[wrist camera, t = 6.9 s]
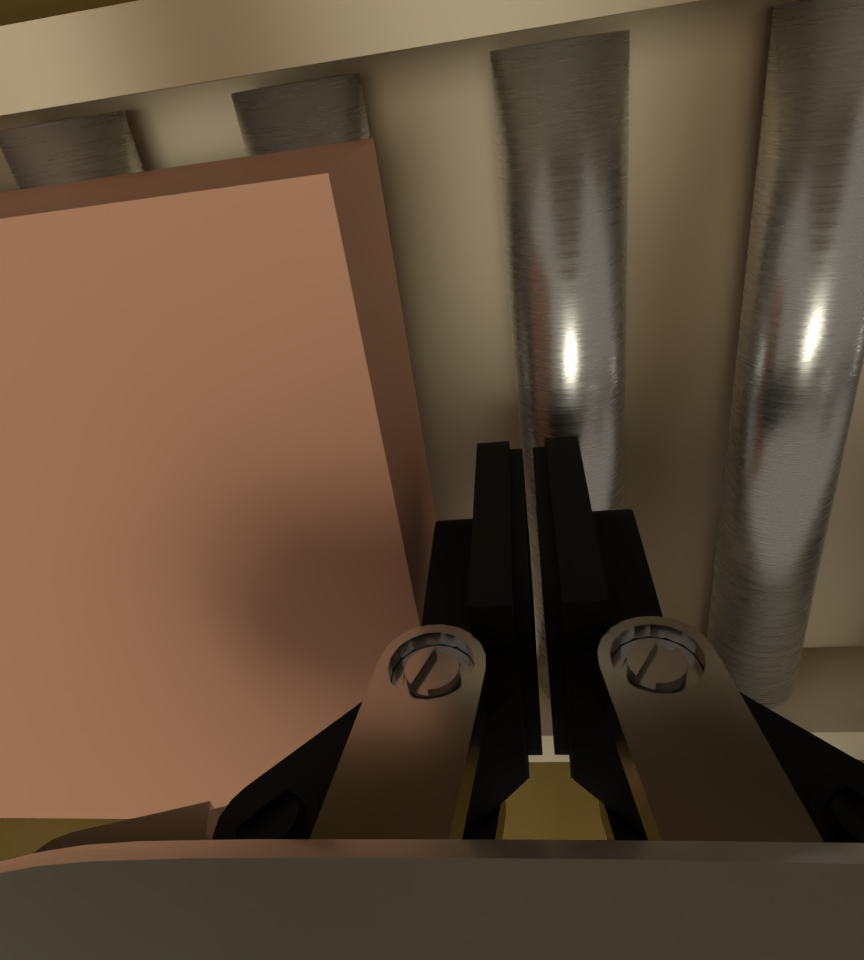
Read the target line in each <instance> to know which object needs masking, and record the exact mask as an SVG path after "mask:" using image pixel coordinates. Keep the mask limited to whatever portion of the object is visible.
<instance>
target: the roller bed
mask: <svg viewBox="0 0 864 960" xmlns="http://www.w3.org/2000/svg"><path fill="white" fill-rule="evenodd" d="M796 1H802V0H139V1H133V2H128V3H123V4H117V5H112V6H106V7H101V8H96V9H90V10H85V11H80V12H74V13H69V14H64V15H58V16H53V17H47V18H42V19H37V20H31V21H26V22H21V23H15V24H10V25H4V26H0V131H1V130H6V129H12V128H17V127H23V126H28V125H34V124H40V123H46V122H52V121H58V120H63V119H69V118H75V117H82V116H88V115H94V114H100V113H107V112H113V111H120V110H124V112H125V115H126V118H127V121H128V124H129V127H130V130H131V133H132V136H133V139H134V142H135V145H136V148H137V151H138V154H139V157H140V160H141V163H142V166H143V169H144V171H150V170H157V169H164V168H171V167H178V166H185V165H192V164H198V163H205V162H212V161H219V160H226V159H233V158H240V157H246V156H247V155H246V151H245V147H244V143H243V139H242V135H241V132H240V128H239V124H238V120H237V116H236V112H235V108H234V104H233V101H232V97H231V93H236V92H241V91H246V90H252V89H257V88H263V87H269V86H275V85H281V84H287V83H293V82H299V81H305V80H311V79H317V78H324V77H330V76H336V75H343V74H350V73H358V72H359V73H360V79H361V85H362V91H363V97H364V103H365V109H366V115H367V121H368V127H369V133H370V138H374V144H375V150H376V156H377V162H378V169H379V175H380V181H381V187H382V193H383V199H384V205H385V211H386V217H387V223H388V229H389V235H390V241H391V247H392V253H393V259H394V265H395V271H396V277H397V283H398V289H399V295H400V301H401V307H402V313H403V320H404V326H405V332H406V338H407V344H408V350H409V356H410V362H411V368H412V374H413V380H414V386H415V392H416V398H417V404H418V410H419V416H420V422H421V428H422V434H423V440H424V446H425V452H426V458H427V464H428V471H429V477H430V483H431V489H432V495H433V501H434V507H435V513H436V519H437V521H441V520H458V519H473V503H474V485H475V468H476V450H477V443H488V442H501V441H509V445H510V449H520V448H521V439H520V427H519V414H518V401H517V389H516V376H515V363H514V351H513V338H512V325H511V313H510V300H509V287H508V275H507V262H506V249H505V237H504V224H503V211H502V199H501V186H500V173H499V161H498V148H497V136H496V123H495V110H494V98H493V85H492V72H491V60H490V51H495V50H500V49H505V48H511V47H517V46H523V45H529V44H535V43H541V42H547V41H553V40H559V39H565V38H572V37H578V36H585V35H591V34H598V33H605V32H611V31H619V30H626V29H630V68H629V142H628V215H627V289H626V362H625V436H624V509H631V510H633V513H634V516H635V519H636V523H637V526H638V530H639V533H640V537H641V540H642V544H643V548H644V551H645V555H646V558H647V562H648V565H649V569H650V573H651V576H652V580H653V583H654V587H655V590H656V594H657V598H658V601H659V605H660V608H661V612H662V615H663V617H664V618H670V619H675V620H677V621H680V622H682V623H684V624H687V625H689V626H691V627H693V628H694V629H696V630H697V631H698V632H700V633H701V634H703V635H704V636H705V637H706V638H707V632H708V623H709V613H710V604H711V595H712V585H713V576H714V566H715V557H716V547H717V538H718V528H719V519H720V509H721V500H722V491H723V481H724V472H725V462H726V453H727V443H728V434H729V424H730V415H731V405H732V396H733V387H734V377H735V368H736V358H737V349H738V339H739V330H740V320H741V311H742V301H743V292H744V283H745V273H746V264H747V254H748V245H749V235H750V226H751V216H752V207H753V197H754V188H755V179H756V169H757V160H758V150H759V141H760V131H761V122H762V112H763V103H764V93H765V84H766V75H767V65H768V56H769V46H770V37H771V27H772V18H773V8H774V5H779V4H784V3H790V2H796ZM13 190H19V189H18V187H17V185H16V182H15V180H14V178H13V175H12V173H11V171H10V168H9V166H8V164H7V161H6V159H5V157H4V154H3V152H2V150H1V148H0V192H7V191H13ZM535 633H536V629H535ZM536 650H537V642H536ZM537 667H538V654H537ZM538 684H539V700H540V717H541V734H542V752H543V755H529V762H570V760H569V755H555V753H554V740H553V727H552V714H551V701H550V700H549V699H548V698H547V697H546V695H545V694H544V692H543V691H542V688H541V685H540V680H539V667H538ZM769 709H770V710H772V711H774V712H775V713H777V714H779V715H781V716H782V717H784V718H786V719H788V720H789V721H791V722H793V723H795V724H796V725H798V726H800V727H801V728H803V729H805V730H807V731H808V732H810V733H812V734H814V735H815V736H817V737H819V738H821V739H822V740H824V741H826V742H827V743H829V744H831V745H833V746H834V747H836V748H838V749H840V750H841V751H843V752H845V753H847V754H848V755H850V756H852V757H853V758H855V759H857V760H864V360H863V364H862V369H861V374H860V379H859V383H858V388H857V393H856V397H855V402H854V407H853V412H852V416H851V421H850V426H849V431H848V435H847V440H846V445H845V449H844V454H843V459H842V464H841V468H840V473H839V478H838V483H837V487H836V492H835V497H834V501H833V506H832V511H831V516H830V520H829V525H828V530H827V535H826V539H825V544H824V549H823V553H822V558H821V563H820V568H819V572H818V577H817V582H816V587H815V591H814V596H813V601H812V605H811V610H810V615H809V620H808V624H807V629H806V634H805V639H804V643H803V648H802V653H801V657H800V662H799V667H798V672H797V676H796V681H795V686H794V691H793V693H792V695H791V696H790V698H789V699H788V700H787V701H786V702H784V703H783V704H781V705H779V706H776V707H773V708H769Z"/></svg>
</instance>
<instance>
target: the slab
mask: <svg viewBox="0 0 864 960" xmlns="http://www.w3.org/2000/svg"><path fill="white" fill-rule="evenodd" d="M436 522H437V519H436V513H435V507H434V501H433V495H432V489H431V483H430V477H429V471H428V464H427V458H426V452H425V446H424V440H423V434H422V428H421V422H420V416H419V410H418V404H417V398H416V392H415V386H414V380H413V374H412V368H411V362H410V356H409V350H408V344H407V338H406V332H405V326H404V320H403V313H402V307H401V301H400V295H399V289H398V283H397V277H396V271H395V265H394V259H393V253H392V247H391V241H390V235H389V229H388V223H387V217H386V211H385V205H384V199H383V193H382V187H381V181H380V175H379V169H378V162H377V156H376V150H375V144H374V138H370V139H363V140H356V141H349V142H342V143H336V144H329V145H322V146H315V147H308V148H301V149H294V150H288V151H281V152H274V153H267V154H260V155H253V156H246V157H240V158H233V159H226V160H219V161H212V162H205V163H198V164H192V165H185V166H178V167H171V168H164V169H157V170H150V171H144V172H137V173H130V174H123V175H116V176H109V177H103V178H96V179H89V180H82V181H75V182H68V183H61V184H55V185H48V186H41V187H34V188H27V189H20V190H13V191H7V192H0V818H111V819H133V818H137V817H142V816H146V815H150V814H155V813H159V812H164V811H168V810H172V809H177V808H181V807H186V806H190V805H194V804H199V803H203V802H208V801H211V803H212V805H213V807H214V809H215V808H219V807H224V806H227V805H228V804H229V802H230V801H231V800H232V799H233V798H234V797H235V796H236V795H237V794H238V793H239V792H240V791H242V790H243V789H244V788H245V787H246V786H247V785H249V784H250V783H251V782H253V781H254V780H256V779H257V778H258V777H260V776H261V775H262V774H264V773H265V772H266V771H268V770H269V769H271V768H272V767H273V766H275V765H276V764H277V763H279V762H280V761H281V760H283V759H284V758H286V757H287V756H288V755H290V754H291V753H292V752H294V751H295V750H296V749H298V748H299V747H301V746H302V745H303V744H305V743H306V742H307V741H309V740H310V739H311V738H313V737H314V736H316V735H317V734H318V733H320V732H321V731H322V730H324V729H325V728H327V727H328V726H329V725H331V724H332V723H333V722H335V721H336V720H337V719H339V718H340V717H342V716H343V715H344V714H346V713H347V712H348V711H350V710H351V709H352V708H354V707H355V706H357V705H358V704H359V703H361V702H362V701H363V699H364V696H365V694H366V691H367V688H368V686H369V683H370V681H371V678H372V676H373V673H374V670H375V668H376V665H377V663H378V660H379V658H380V656H381V655H382V653H383V651H384V650H385V648H386V647H387V646H388V645H389V644H390V643H391V642H392V641H393V640H394V639H395V638H397V637H398V636H400V635H402V634H404V633H405V632H407V631H409V630H411V629H414V628H418V627H421V624H422V616H423V609H424V602H425V594H426V587H427V579H428V572H429V564H430V557H431V549H432V542H433V534H434V528H435V523H436Z"/></svg>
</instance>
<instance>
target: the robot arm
mask: <svg viewBox="0 0 864 960" xmlns="http://www.w3.org/2000/svg"><path fill="white" fill-rule="evenodd" d="M533 464H534V478H535V493H536V508H537V523H538V538H539V552H540V567H541V582H542V595H543V608H544V622H545V635H546V648H547V661H548V674H549V688H550V701H551V714H552V727H553V740H554V753H555V755H569V760H570V770H571V778H573V779H574V780H575V781H576V782H577V783H579V784H580V785H581V786H582V787H583V788H585V789H586V790H587V791H588V792H590V793H591V794H592V795H593V796H595V797H596V798H597V799H598V800H599V807H600V815H601V819H602V823H603V826H604V829H605V833H606V836H607V840H502V837H503V831H504V824H505V818H506V802H505V800H506V799H507V798H508V797H509V796H510V795H511V794H512V793H513V792H514V791H515V790H516V789H518V788H519V787H520V786H521V785H522V784H523V783H524V782H525V781H526V780H527V779H529V755H543V752H542V734H541V717H540V700H539V684H538V667H537V650H536V633H535V616H534V599H533V583H532V569H531V556H530V543H529V530H528V517H527V504H526V491H525V478H524V465H523V452H522V448H520V449H510V445H509V441H501V442H488V443H477V450H476V468H475V485H474V503H473V519H458V520H441V521H437V522H436V523H435V528H434V534H433V542H432V549H431V557H430V564H429V572H428V579H427V587H426V594H425V602H424V609H423V616H422V624H421V627H418V628H414V629H411V630H409V631H407V632H405V633H404V634H402V635H400V636H398V637H397V638H395V639H394V640H393V641H392V642H391V643H390V644H389V645H388V646H387V647H386V648H385V650H384V651H383V653H382V655H381V656H380V658H379V660H378V663H377V665H376V668H375V670H374V673H373V676H372V678H371V681H370V683H369V686H368V688H367V691H366V694H365V696H364V699H363V701H362V702H361V703H359V704H358V705H357V706H355V707H354V708H352V709H351V710H350V711H348V712H347V713H346V714H344V715H343V716H342V717H340V718H339V719H337V720H336V721H335V722H333V723H332V724H331V725H329V726H328V727H327V728H325V729H324V730H322V731H321V732H320V733H318V734H317V735H316V736H314V737H313V738H311V739H310V740H309V741H307V742H306V743H305V744H303V745H302V746H301V747H299V748H298V749H296V750H295V751H294V752H292V753H291V754H290V755H288V756H287V757H286V758H284V759H283V760H281V761H280V762H279V763H277V764H276V765H275V766H273V767H272V768H271V769H269V770H268V771H266V772H265V773H264V774H262V775H261V776H260V777H258V778H257V779H256V780H254V781H253V782H251V783H250V784H249V785H247V786H246V787H245V788H244V789H243V790H242V791H240V792H239V793H238V794H237V795H236V796H235V797H234V798H233V799H232V800H231V801H230V802H229V804H228V805H227V806H224V807H219V808H215V809H214V807H213V805H212V803H211V801H208V802H203V803H199V804H194V805H190V806H186V807H181V808H177V809H172V810H168V811H164V812H159V813H155V814H150V815H146V816H142V817H137V818H133V819H129V820H124V821H120V822H115V823H111V824H107V825H102V826H98V827H93V828H89V829H85V830H80V831H76V832H71V833H69V834H66V835H64V836H61V837H58V838H56V839H53V840H51V841H50V842H48V843H47V844H45V845H44V846H43V847H41V848H40V849H38V850H37V851H36V852H34V853H33V854H30V855H26V856H22V857H17V858H13V859H9V860H5V861H1V862H0V960H864V763H862V762H860V761H859V760H857V759H855V758H853V757H852V756H850V755H848V754H847V753H845V752H843V751H841V750H840V749H838V748H836V747H834V746H833V745H831V744H829V743H827V742H826V741H824V740H822V739H821V738H819V737H817V736H815V735H814V734H812V733H810V732H808V731H807V730H805V729H803V728H801V727H800V726H798V725H796V724H795V723H793V722H791V721H789V720H788V719H786V718H784V717H782V716H781V715H779V714H777V713H775V712H774V711H772V710H770V709H769V708H767V707H765V706H763V705H762V704H760V703H758V702H756V701H755V700H753V699H751V698H750V697H748V696H746V695H744V694H743V693H741V692H739V690H738V689H737V687H736V685H735V683H734V682H733V680H732V678H731V676H730V674H729V673H728V671H727V669H726V667H725V666H724V664H723V662H722V660H721V659H720V657H719V655H718V653H717V651H716V650H715V648H714V647H713V646H712V644H711V643H710V642H709V641H708V639H707V638H706V637H705V636H704V635H703V634H701V633H700V632H698V631H697V630H696V629H694V628H693V627H691V626H689V625H687V624H684V623H682V622H680V621H677V620H675V619H670V618H664V617H663V615H662V612H661V608H660V605H659V601H658V598H657V594H656V590H655V587H654V583H653V580H652V576H651V573H650V569H649V565H648V562H647V558H646V555H645V551H644V548H643V544H642V540H641V537H640V533H639V530H638V526H637V523H636V519H635V516H634V513H633V510H631V509H620V510H603V511H592V508H591V503H590V497H589V492H588V487H587V482H586V477H585V472H584V466H583V461H582V456H581V451H580V446H579V441H578V436H566V437H553V438H545V447H533Z"/></svg>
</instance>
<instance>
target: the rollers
mask: <svg viewBox="0 0 864 960" xmlns="http://www.w3.org/2000/svg"><path fill="white" fill-rule="evenodd" d="M490 60H491V72H492V85H493V98H494V110H495V123H496V136H497V148H498V161H499V173H500V186H501V199H502V211H503V224H504V237H505V249H506V262H507V275H508V287H509V300H510V313H511V325H512V338H513V351H514V363H515V376H516V389H517V401H518V414H519V427H520V439H521V448H522V452H523V465H524V478H525V491H526V504H527V517H528V530H529V543H530V556H531V569H532V583H533V599H534V616H535V629H536V642H537V654H538V667H539V680H540V685H541V688H542V691H543V692H544V694H545V695H546V697H547V698H548V699H549V700H550V688H549V674H548V661H547V648H546V635H545V622H544V608H543V595H542V582H541V567H540V552H539V538H538V523H537V508H536V493H535V478H534V464H533V447H545V438H553V437H566V436H578V441H579V446H580V451H581V456H582V461H583V466H584V472H585V477H586V482H587V487H588V492H589V497H590V503H591V508H592V511H603V510H620V509H624V436H625V362H626V289H627V215H628V142H629V68H630V29H626V30H619V31H611V32H605V33H598V34H591V35H585V36H578V37H572V38H565V39H559V40H553V41H547V42H541V43H535V44H529V45H523V46H517V47H511V48H505V49H500V50H495V51H490ZM231 97H232V101H233V104H234V108H235V112H236V116H237V120H238V124H239V128H240V132H241V135H242V139H243V143H244V147H245V151H246V155H247V156H253V155H260V154H267V153H274V152H281V151H288V150H294V149H301V148H308V147H315V146H322V145H329V144H336V143H342V142H349V141H356V140H363V139H370V133H369V127H368V121H367V115H366V109H365V103H364V97H363V91H362V85H361V79H360V73H359V72H358V73H350V74H343V75H336V76H330V77H324V78H317V79H311V80H305V81H299V82H293V83H287V84H281V85H275V86H269V87H263V88H257V89H252V90H246V91H241V92H236V93H231ZM0 148H1V150H2V152H3V154H4V157H5V159H6V161H7V164H8V166H9V168H10V171H11V173H12V175H13V178H14V180H15V182H16V185H17V187H18V189H19V190H20V189H27V188H34V187H41V186H48V185H55V184H61V183H68V182H75V181H82V180H89V179H96V178H103V177H109V176H116V175H123V174H130V173H137V172H144V169H143V166H142V163H141V160H140V157H139V154H138V151H137V148H136V145H135V142H134V139H133V136H132V133H131V130H130V127H129V124H128V121H127V118H126V115H125V112H124V110H120V111H113V112H107V113H100V114H94V115H88V116H82V117H75V118H69V119H63V120H58V121H52V122H46V123H40V124H34V125H28V126H23V127H17V128H12V129H6V130H1V131H0ZM863 360H864V0H802V1H796V2H790V3H784V4H779V5H774V8H773V18H772V27H771V37H770V46H769V56H768V65H767V75H766V84H765V93H764V103H763V112H762V122H761V131H760V141H759V150H758V160H757V169H756V179H755V188H754V197H753V207H752V216H751V226H750V235H749V245H748V254H747V264H746V273H745V283H744V292H743V301H742V311H741V320H740V330H739V339H738V349H737V358H736V368H735V377H734V387H733V396H732V405H731V415H730V424H729V434H728V443H727V453H726V462H725V472H724V481H723V491H722V500H721V509H720V519H719V528H718V538H717V547H716V557H715V566H714V576H713V585H712V595H711V604H710V613H709V623H708V632H707V639H708V641H709V642H710V643H711V644H712V646H713V647H714V648H715V650H716V651H717V653H718V655H719V657H720V659H721V660H722V662H723V664H724V666H725V667H726V669H727V671H728V673H729V674H730V676H731V678H732V680H733V682H734V683H735V685H736V687H737V689H738V690H739V692H741V693H743V694H744V695H746V696H748V697H750V698H751V699H753V700H755V701H756V702H758V703H760V704H762V705H763V706H765V707H767V708H773V707H776V706H779V705H781V704H783V703H784V702H786V701H787V700H788V699H789V698H790V696H791V695H792V693H793V691H794V686H795V681H796V676H797V672H798V667H799V662H800V657H801V653H802V648H803V643H804V639H805V634H806V629H807V624H808V620H809V615H810V610H811V605H812V601H813V596H814V591H815V587H816V582H817V577H818V572H819V568H820V563H821V558H822V553H823V549H824V544H825V539H826V535H827V530H828V525H829V520H830V516H831V511H832V506H833V501H834V497H835V492H836V487H837V483H838V478H839V473H840V468H841V464H842V459H843V454H844V449H845V445H846V440H847V435H848V431H849V426H850V421H851V416H852V412H853V407H854V402H855V397H856V393H857V388H858V383H859V379H860V374H861V369H862V364H863Z"/></svg>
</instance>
